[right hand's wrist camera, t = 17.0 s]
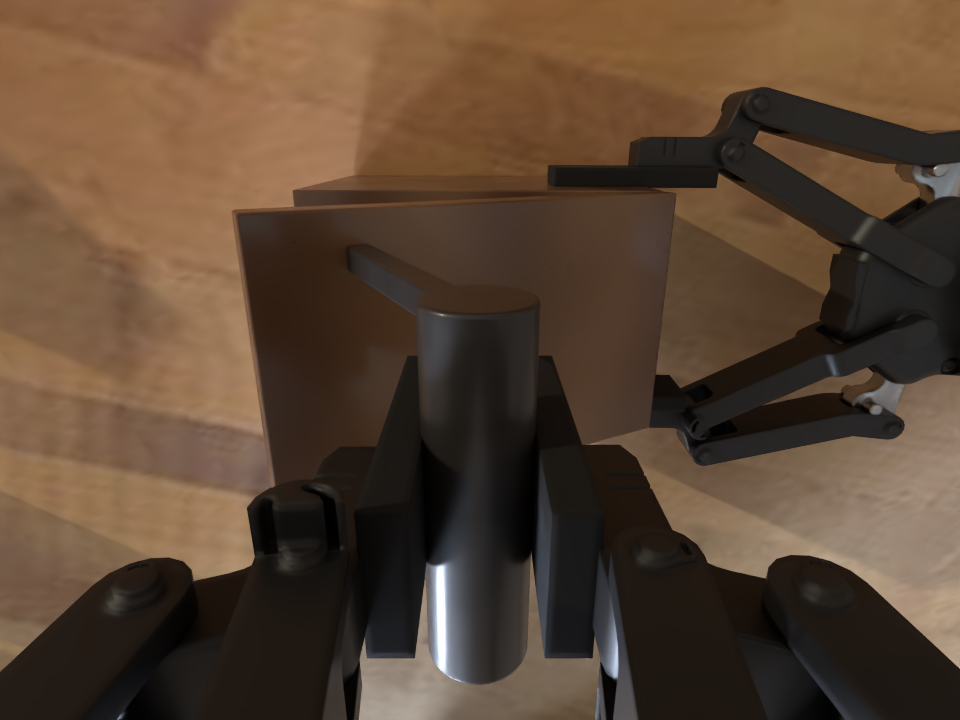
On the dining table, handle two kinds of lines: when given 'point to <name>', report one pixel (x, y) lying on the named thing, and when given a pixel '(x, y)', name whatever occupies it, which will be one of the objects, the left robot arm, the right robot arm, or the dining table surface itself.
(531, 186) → the chest
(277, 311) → the lid
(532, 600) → the dining table surface
